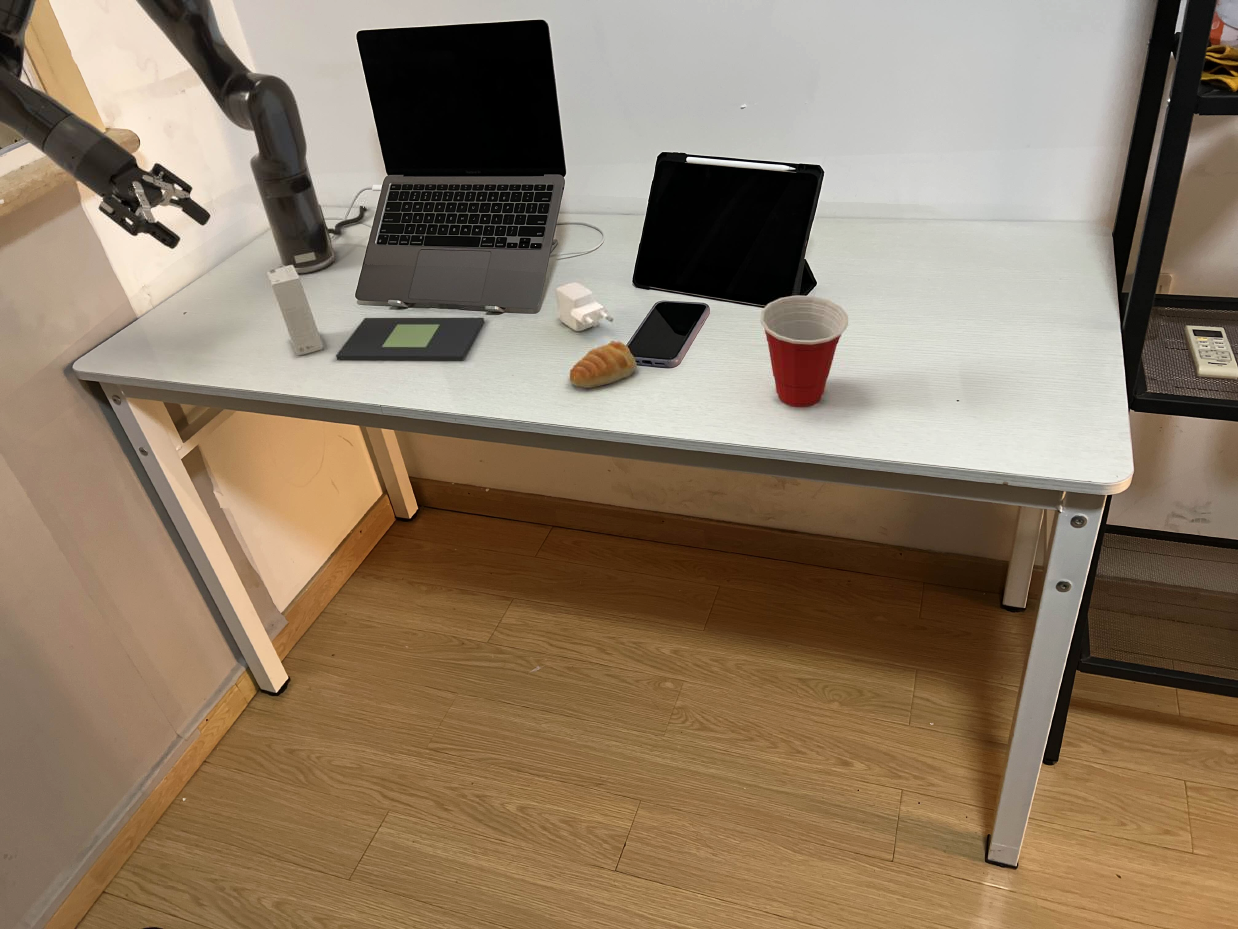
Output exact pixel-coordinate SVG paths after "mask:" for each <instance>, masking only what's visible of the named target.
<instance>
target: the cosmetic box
mask: <svg viewBox="0 0 1238 929" xmlns="http://www.w3.org/2000/svg"><path fill="white" fill-rule="evenodd" d="M266 275H267V278H268V282H269V284H270V288H271V290H272V292H273V295H274V298H275V301H276V303H277V306H278V308H279V312H280V314H281V317H282V320H283V322H284V324H285V327H286V331H287V333H288V336H289V339H290V341H291V344H292V347H293V349H294V351H295V353H296V355H297V356H304V355H308V354H311V353H314V352H318V351H321V350H323V349H324V344H323V341H322V338H321V335H320V332H319V330H318V327H317V324H316V321H315V318H314V315H313V313H312V310H311V307H310V303H309V301H308V298H307V296H306V293H305V289H304V287H303V284H302V281H301V277H300V276H299V274H297V272H296V270H295V268H294V266H293V265H289V266H285V267H283V266H282V267H279V268H278V267H277V268H275V269H271V270H268V271H266Z"/></svg>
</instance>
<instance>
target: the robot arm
mask: <svg viewBox="0 0 1238 929" xmlns="http://www.w3.org/2000/svg"><path fill="white" fill-rule="evenodd" d="M135 1H136V2H137V4H138V5H139V6H140V7H141V8H142V10H143V11H144V12H145V13H146V15H147V16H148V17H149V18H150V20H151V21H153V23H154V24H155V25H156V26H157V27H158V29H159V30H160V31H161V32H162V33H163V34H164V35H165V37H166V38H167V40H168V41H169V42H170V43H171V45H172V46H173V47H174V48H175V49H176V50H177V51H178V52H179V54H180V55H181V56H182V57H183V58H184V60H185V61H186V62H187V63H188V64H189V66H190V67H191V69H193V71H194V72H195V73H196V75H197V76H198V78H199V79H200V81H201V82H202V83H203V86H205V88H206V89H207V91H208V92H209V94H210V95H211V97H212V99H213V100H214V101H215V103H216V104H217V106H218V108H219V109H220V110H221V112H222V113H223V114H224V116H225V117H226V118H227V119H228V120H229V121H230V122H231V123H232V124H234V126H236V127H238V128H240V129H242V130H244V131H249V132H253V133H254V136H255V140H256V144H257V148H258V152H257V153H255V154H254V155H253V156H251V157H250V160H249V165H250V169H251V172H252V175H253V179H254V181H255V184H256V187H257V191H258V193H259V197H260V200H261V202H262V206H263V208H264V212H265V215H266V218H267V221H268V224H269V227H270V231H271V234H272V236H273V240H274V242H275V246H276V249H277V252H278V256H279V258H280V261H281V262H280V263H281V266H282V267H285V266H289V265H293V266H294V268H295V270H296V272H297V274H298V275H299V274H308V273H312V272H317V271H320V270H322V269H325V268H326V267H328V266H330V265H331V264H332V263H333V262H334V261H335V258H336V257H335V250H334V246H333V244H332V242H333V241H332V239H331V235H334V236H339V235H341V229H340V228H342V227H345V226H348V225H352V224H355V223H358V222H360V221H361V220H362V219H363V218H364V217H365V212H366V211H367V210H368V209H367V207H366V206H364V205H363V206H364V208H363V206H361V205H360V206H359V214H358V216H356V217H353V218H349V219H346V220H342V221H339V222H338V223H336V224H335V226H334V228H331V227H330V228H329V227H328V226H327V223H326V219H325V216H324V212H323V208H322V206H321V204H320V203H319V200H318V197H317V193H316V190H315V189H316V188H315V186H314V182H313V180H312V176H311V173H310V169H309V164H308V162H307V161H308V160H307V148H308V147H307V140H306V136H305V132H304V127H303V124H302V123H303V122H302V119H301V114H300V111H299V107H298V103H297V100H296V97H295V95H294V92H293V91H292V89H291V87H290V86H289V85H288V83H287V82H286V81H285V80H283V79H282V78H280V77H279V76H276V75H272V74H267V73H259V72H252V70H250V69H249V68H248V67H247V66H246V64H244V63H243V61H241V59H240V58H239V57H238V56H237V54H236V52H234V51H233V49H232V48H231V47H230V46H229V44H228V43H227V42H226V40H225V38H224V36H223V35H222V32H221V30H220V26H219V24H218V21H217V17H216V13H215V10H214V6H213V4H212V2H211V0H135ZM36 2H37V0H0V123H1V124H2V125H4V126H6V127H8V128H9V129H11V130H12V131H14V132H15V133H16V134H17V135H19V136H20V137H21V138H22V139H24V140H25V141H27V143H29V144H30V145H32V146H33V147H35V148H36V149H37V150H39V151H40V152H41V153H43V154H44V155H45V156H47V157H48V158H49V159H50V160H51V161H52V162H53V163H54V164H56V166H58V168H60V169H62V170H63V171H64V172H66V173H67V174H68V175H70V176H72V177H73V178H74V179H75V180H76V181H78V182H80V183H81V184H82V185H83V186H85V187H86V188H88V189H89V190H91V191H92V192H93V193H94V194H96V195H97V196H99V197H100V198H102V199H101V201H100V204H99V205H98V210H99V211H100V212H101V213H102V214H103V215H105V216H106V217H108V218H109V219H110V220H111V221H113V222H114V223H115V224H116V225H117V226H118V227H121V229H123V230H124V231H125V232H127V233H128V234H129V235H131V236H133V237H137V236H138V235H139V234H144V235H150V236H151V237H152V238H154V239H155V240H156V241H157V242H159V243H161V244H162V245H163V246H165V247H167V248H169V249H172V250H174V249H176V248H177V246H178V245H179V243H180V241H181V237H180V235H178V234H177V233H175V231H173V230H171V229H170V228H169V227H167V226H166V225H165V224H163V223H162V222H161V221H159V220H157V221H156V219H155V217H154V215H153V212H152V211H151V210H152V209H153V208H157V207H158V206H161V207H168V206H171V207H174V208H178V209H179V210H180V209H181V212H183V213H184V214H185V215H186V216H188V217H189V218H191V219H192V220H194V222H196V223H197V224H198V225H200V226H205V225H206V224H208V222H209V220H210V219H211V214H210V213H209V211H208V210H207V209H205V208H204V207H202V206H201V205H200V204H199V203H198V202H197V201H195V200H194V199H192V198H191V194H192V191H193V187H192V186H191V185H190V184H189V183H187V182H186V181H185V180H183V179H181V177H179V176H177V175H176V174H175V173H174V172H172V171H170V170H169V169H168V168H166V167H165V166H163V165H162V164H161V163H157V162H155V163H154V164H153V166H152V168H151V169H150V170H149V171H147V170H145V169H143V168H141V167H139V165H138V163H137V158H136V156H135V155H134V154H132V153H131V152H130V151H128V150H127V149H125V147H123V146H121V145H120V144H119V143H117V142H116V141H115V140H113V139H112V138H111V137H110V136H108V135H107V134H105V133H104V132H103V131H101V130H100V129H99V128H97V127H96V126H95V125H93V124H92V123H90V122H89V121H87V120H85V119H84V118H82V117H80V116H79V115H77V114H76V113H74V111H72V110H70V109H69V108H68V107H67V106H65V105H64V104H63V103H61V102H60V101H59V100H57V99H56V98H55V97H53V96H51V95H50V94H48V93H46V92H44V91H43V90H40V89H38V88H35V87H32V86H30V85H28V84H27V83H26V82H24V81H22V74H23V69H24V58H25V46H26V32H27V29H28V26H29V24H30V21H31V18H32V16H33V11H34V9H35V5H36ZM175 185H176V186H178V187H179V188H180V189H179V188H177V187H175ZM173 197H175V198H173ZM176 198H177V199H176ZM127 220H129V221H130V222H131V223H130V222H129V221H127Z"/></svg>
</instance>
